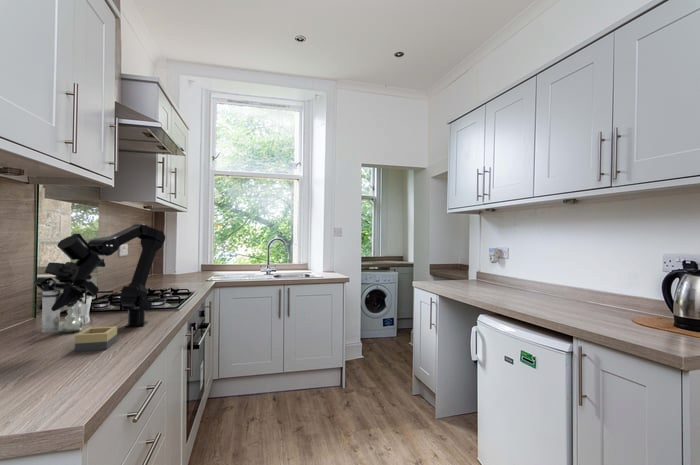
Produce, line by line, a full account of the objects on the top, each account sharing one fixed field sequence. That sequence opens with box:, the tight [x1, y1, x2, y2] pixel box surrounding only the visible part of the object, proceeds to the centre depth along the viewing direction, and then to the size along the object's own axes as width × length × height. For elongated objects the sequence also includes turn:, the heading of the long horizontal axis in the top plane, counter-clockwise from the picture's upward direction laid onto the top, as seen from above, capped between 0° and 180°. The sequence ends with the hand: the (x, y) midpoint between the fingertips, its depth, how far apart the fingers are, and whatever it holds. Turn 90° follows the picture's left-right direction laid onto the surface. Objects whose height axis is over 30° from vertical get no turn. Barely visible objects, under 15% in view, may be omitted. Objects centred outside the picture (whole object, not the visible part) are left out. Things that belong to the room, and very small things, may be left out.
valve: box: [56, 298, 84, 333], centre depth 123 cm, size 7×7×12 cm
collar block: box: [74, 326, 118, 353], centre depth 108 cm, size 8×8×5 cm
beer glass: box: [72, 292, 93, 325], centre depth 135 cm, size 7×7×15 cm
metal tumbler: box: [41, 290, 61, 334], centre depth 101 cm, size 4×4×12 cm
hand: (46, 309), depth 99 cm, fingers closed on metal tumbler, 4 cm apart
